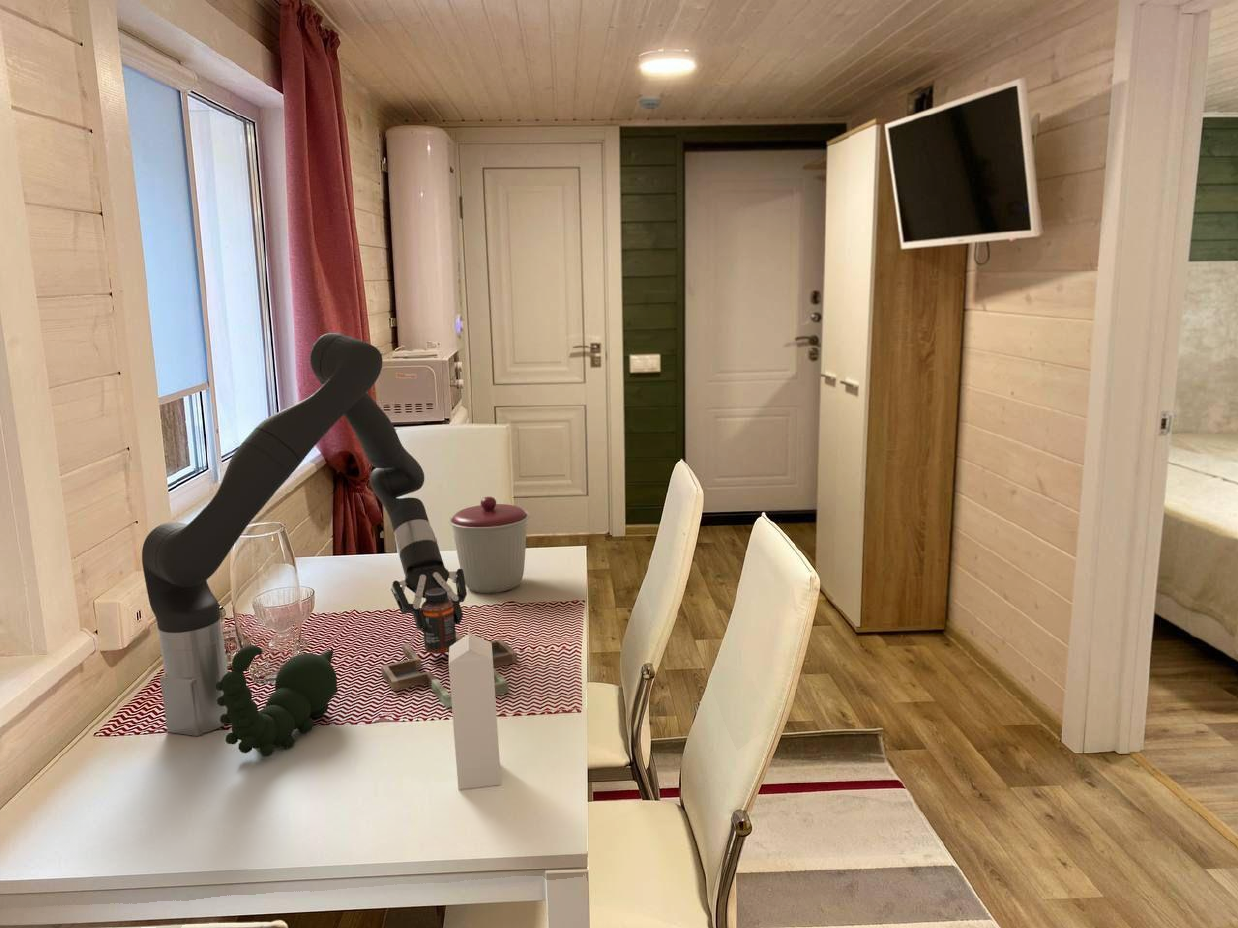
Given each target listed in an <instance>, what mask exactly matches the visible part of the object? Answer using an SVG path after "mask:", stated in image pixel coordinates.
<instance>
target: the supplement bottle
mask: <svg viewBox="0 0 1238 928" xmlns="http://www.w3.org/2000/svg"><path fill="white" fill-rule="evenodd" d="M425 597H426V598H424V599H425V601H424V602H423V603H422V604H421V606H420V609H422V611H423V615H424V618H425V621H426V625H427V628H426V631H424V632H422V634H423V643H424V650H425V651H426V652H427V653H430V654H438V655H439V654H447V653H449V647H450V646H451V645H453V644H454V643H456V632H457V631H456V624H455V619H454V607H453V603H452V601H451V600H449V599H448V598H447V597H448V595H447V590H446V589H443V588H434V589H430V590H428V591H426V592H425Z"/></svg>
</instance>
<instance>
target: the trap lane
mask: <svg viewBox="0 0 1238 928" xmlns="http://www.w3.org/2000/svg"><path fill="white" fill-rule="evenodd" d="M463 637H464V636H462V635H461V633H460V632H458V631H456V642H457V641H459V640H460V639H462V638H463ZM489 642H491V643H492V655H493V669H494V684H495V697H497V696H499V695H504V694H508V693H509V692H510V690H509V681H507V680H506V678H504V677H503V676H502V674H500V673H499V672H498V671H497V669H495V668H499V667H503V666H507V665H510V664H511V665H512V664H515V663H518V653H517V652H516V651H515V650H514V649H513V648H512V647H511V646H510V645H509V644H508V643H507V642H505V641H504V640H503V639H502V638H499V639H494V640H490V641H489ZM401 648H402V654H403V653H404V654H405V655H406V656H405V655H404V654H403V655H404V656H405V657H407V658H408V659H409V660H408V659H407V658H406V660H405V659H404V660H401V661H397V662H392V663H388V664H383V665H380V668H381V676H382V678H383V679H384V678H385V679H384V680H385V682H386V681H387V682H386V684H387V685H388V684H389V685H388V686H389V688H390V687H391V688H390V689H391V690H393V691H395V692H397V690H399V691H402V690H401V689H403V690H406V688H407V689H410V688H409V687H411V688H414V687H413V686H415V687H418V686H417V685H420V686H423V684H424V685H428V687H429V688H430V689H431V691H432V692H433V693H434V694H435V695H436V697H437V698H438V699H439V700H440V702H441V703H442V705H444V707H445V708H446V709H448V708H452V702H451V693H450V692H448V690H447V689H446V688H445V687H444V685H442V683H441V682H440V681H439V679H438V678H437V677H436V676H435V675H434V673H433V672H432V671H431V670H428V671H425V672H424V671H423V672H420V671H419V670H420V668H421V669H422V660H421V658H420V656H419V655H418V654H417V652H415V650H414V649H413V648H412V647H411V646H410V644H409V643H408V642H405V643H402V644H401ZM393 691H392V692H393Z"/></svg>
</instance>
